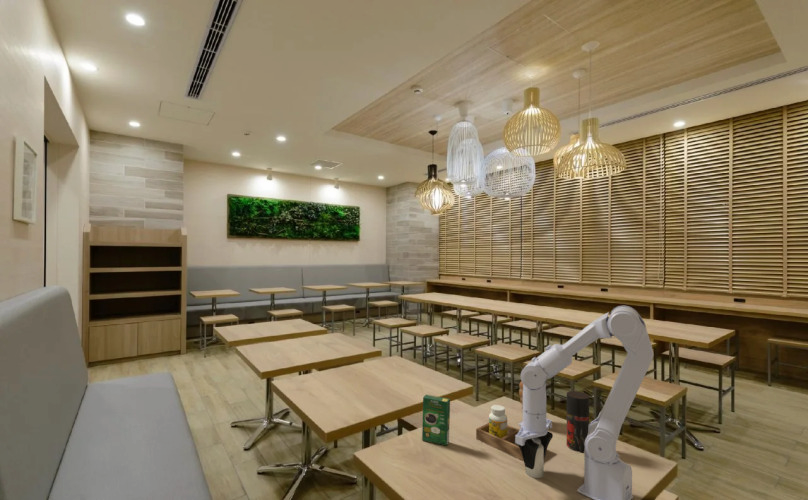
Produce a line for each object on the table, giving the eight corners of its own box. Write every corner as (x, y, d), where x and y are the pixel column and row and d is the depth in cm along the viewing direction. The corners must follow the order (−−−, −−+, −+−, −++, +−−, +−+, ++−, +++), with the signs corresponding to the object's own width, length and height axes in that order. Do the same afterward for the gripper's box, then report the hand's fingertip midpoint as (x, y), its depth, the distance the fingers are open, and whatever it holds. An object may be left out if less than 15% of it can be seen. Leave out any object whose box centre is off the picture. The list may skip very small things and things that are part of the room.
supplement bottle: (511, 441, 111) (511, 409, 111) (497, 445, 109) (497, 412, 109) (498, 433, 116) (498, 402, 116) (485, 437, 113) (485, 406, 113)
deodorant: (591, 453, 105) (591, 399, 105) (569, 450, 106) (569, 398, 106) (585, 442, 110) (585, 392, 111) (564, 440, 112) (564, 390, 112)
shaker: (546, 473, 95) (546, 440, 95) (537, 480, 92) (537, 446, 92) (531, 466, 98) (531, 433, 98) (521, 472, 95) (522, 439, 95)
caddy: (545, 450, 106) (545, 440, 106) (527, 463, 100) (528, 452, 100) (494, 429, 119) (494, 419, 119) (476, 438, 112) (476, 429, 112)
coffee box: (450, 442, 111) (450, 397, 111) (447, 446, 108) (447, 401, 108) (425, 436, 114) (425, 393, 114) (421, 441, 111) (421, 397, 111)
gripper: (534, 398, 103) (534, 447, 103) (504, 413, 93) (504, 467, 93) (559, 406, 98) (559, 458, 98) (530, 422, 88) (530, 480, 88)
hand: (534, 463), depth 95 cm, fingers closed on shaker, 4 cm apart
